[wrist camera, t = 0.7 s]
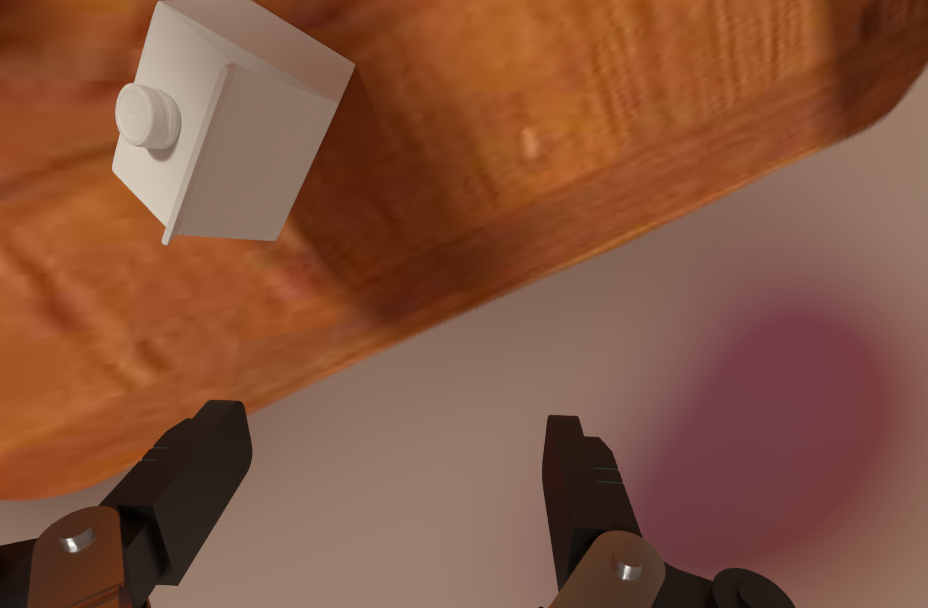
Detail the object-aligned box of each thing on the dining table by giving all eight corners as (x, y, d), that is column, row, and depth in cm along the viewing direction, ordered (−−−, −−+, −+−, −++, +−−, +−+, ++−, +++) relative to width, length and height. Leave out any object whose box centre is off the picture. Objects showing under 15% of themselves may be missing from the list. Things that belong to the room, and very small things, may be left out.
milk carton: (356, 64, 33) (330, 124, 17) (314, 156, 36) (257, 282, 20) (250, -2, 30) (101, -2, 14) (214, 104, 33) (54, 201, 17)
